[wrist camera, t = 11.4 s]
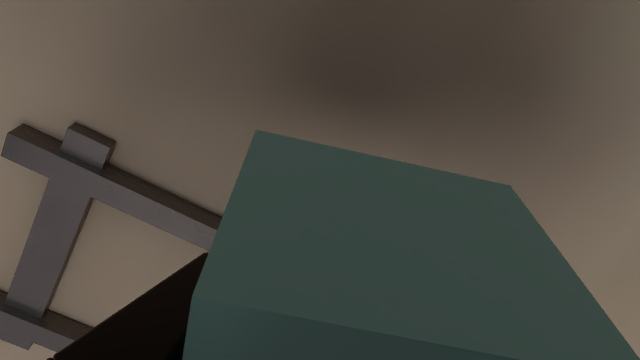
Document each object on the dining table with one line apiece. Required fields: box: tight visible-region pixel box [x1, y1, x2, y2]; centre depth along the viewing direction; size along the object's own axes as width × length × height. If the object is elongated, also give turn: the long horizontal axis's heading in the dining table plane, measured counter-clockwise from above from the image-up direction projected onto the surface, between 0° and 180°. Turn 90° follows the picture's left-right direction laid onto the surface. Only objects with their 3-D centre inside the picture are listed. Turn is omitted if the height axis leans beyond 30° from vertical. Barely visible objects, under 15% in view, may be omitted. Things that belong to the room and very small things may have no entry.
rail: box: [0, 123, 222, 352], centre depth 23 cm, size 21×11×1 cm, turn 61°
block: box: [182, 130, 640, 360], centre depth 8 cm, size 4×4×4 cm
